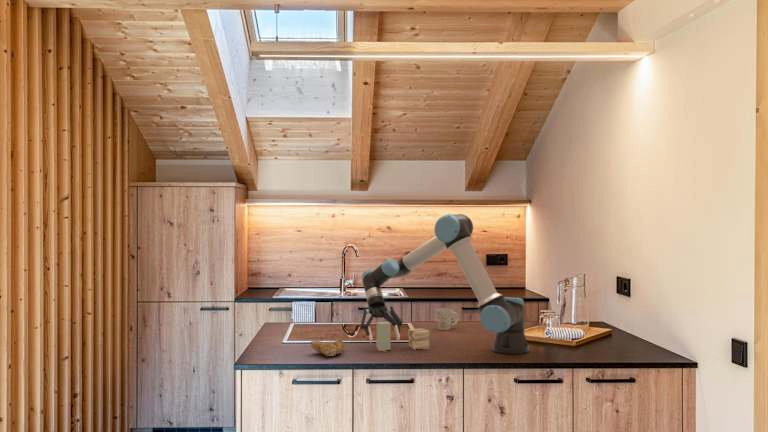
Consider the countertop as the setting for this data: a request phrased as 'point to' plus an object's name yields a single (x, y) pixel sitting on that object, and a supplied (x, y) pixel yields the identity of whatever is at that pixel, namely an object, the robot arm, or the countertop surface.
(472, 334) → the countertop surface
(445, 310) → the mug
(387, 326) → the pale green block
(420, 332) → the slab upper
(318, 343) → the ginger root
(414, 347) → the beige wooden block
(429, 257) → the robot arm
